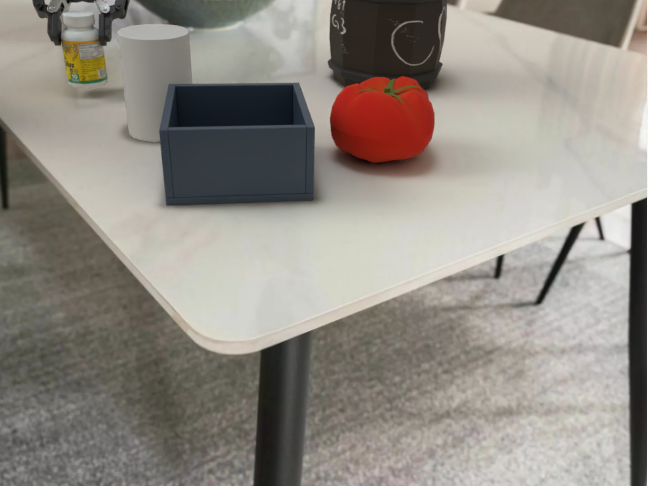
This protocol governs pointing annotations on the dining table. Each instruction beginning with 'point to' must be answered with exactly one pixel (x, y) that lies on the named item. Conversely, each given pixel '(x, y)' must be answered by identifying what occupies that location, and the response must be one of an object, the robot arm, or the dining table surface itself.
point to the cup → (151, 73)
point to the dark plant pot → (387, 39)
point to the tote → (236, 143)
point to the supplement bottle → (83, 51)
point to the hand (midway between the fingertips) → (79, 42)
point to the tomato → (382, 119)
